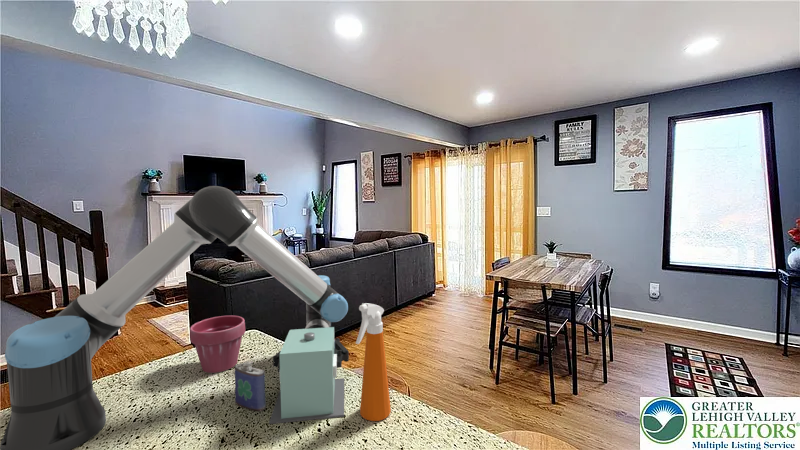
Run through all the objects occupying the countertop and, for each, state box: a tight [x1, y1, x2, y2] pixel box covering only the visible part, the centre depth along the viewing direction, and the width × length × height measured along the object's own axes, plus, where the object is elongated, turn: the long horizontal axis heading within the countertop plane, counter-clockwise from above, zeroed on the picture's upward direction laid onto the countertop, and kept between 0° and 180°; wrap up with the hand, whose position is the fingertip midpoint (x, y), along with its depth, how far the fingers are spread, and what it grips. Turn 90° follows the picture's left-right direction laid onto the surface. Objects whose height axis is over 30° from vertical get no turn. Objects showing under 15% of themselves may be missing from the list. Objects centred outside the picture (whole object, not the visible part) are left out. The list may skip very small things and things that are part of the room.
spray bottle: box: [355, 302, 392, 422], centre depth 75 cm, size 7×11×26 cm, turn 154°
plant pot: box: [189, 315, 246, 374], centre depth 99 cm, size 14×14×13 cm
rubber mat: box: [268, 378, 345, 425], centre depth 83 cm, size 16×16×1 cm
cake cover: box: [279, 326, 336, 419], centre depth 82 cm, size 11×14×16 cm
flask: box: [234, 360, 267, 413], centre depth 80 cm, size 9×3×11 cm, turn 63°
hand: (308, 374), depth 78 cm, fingers closed on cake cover, 11 cm apart
